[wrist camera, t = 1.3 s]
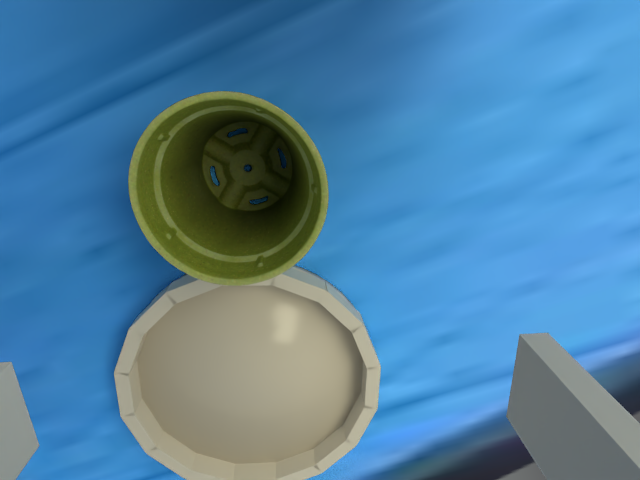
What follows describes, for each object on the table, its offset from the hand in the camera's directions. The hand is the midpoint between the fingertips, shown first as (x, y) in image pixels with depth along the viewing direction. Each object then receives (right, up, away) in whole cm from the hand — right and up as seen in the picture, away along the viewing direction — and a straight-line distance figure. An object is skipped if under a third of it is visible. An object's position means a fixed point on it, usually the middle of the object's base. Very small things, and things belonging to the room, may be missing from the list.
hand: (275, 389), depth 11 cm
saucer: (-4, -6, +22) cm, 23 cm away
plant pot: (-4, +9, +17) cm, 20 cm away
